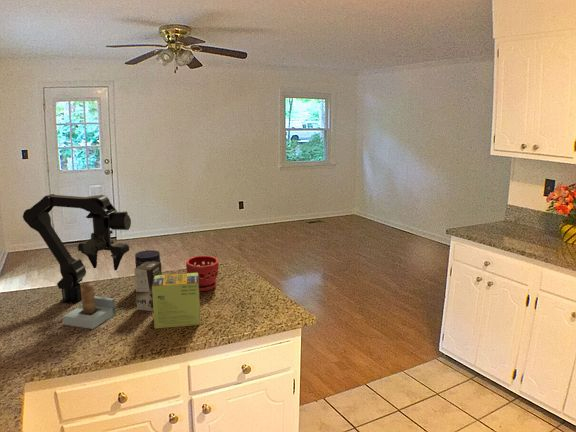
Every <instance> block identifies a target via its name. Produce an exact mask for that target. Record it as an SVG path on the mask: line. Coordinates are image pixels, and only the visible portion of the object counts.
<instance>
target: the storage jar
mask: <svg viewBox="0 0 576 432" xmlns="http://www.w3.org/2000/svg"><path fill="white" fill-rule="evenodd" d="M160 254H161V253H160V251H157V250H154V249H153V250H152V249H151V250H150V249H149V250H141V251H138V252H136V253H135V254H134V257H135V260H134V261H135V262H134V263H135V268H137V267H138V266H140V265H142V264H143V263H145V262H146V261H147V262H161V255H160Z"/></svg>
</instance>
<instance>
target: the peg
mask: <svg viewBox="0 0 576 432" xmlns="http://www.w3.org/2000/svg"><path fill="white" fill-rule="evenodd" d="M80 286H81V295H82V299H81V306H82V305H83V314H84V315H90V316H91V315H93V314H94V313H96V309H95V298H94V296H95V289H94V283H93V282H89V281H87V282H82V283H80Z"/></svg>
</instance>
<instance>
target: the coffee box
mask: <svg viewBox="0 0 576 432" xmlns="http://www.w3.org/2000/svg"><path fill="white" fill-rule="evenodd" d="M157 275H163V272H162V262H161V261H160V262H147V261H146V262H145V263H143V264H142V265H140V266H138V267H137V268H136V267H134V280H135V281H134V282H135V297H136V299H135V300H136V310H139V311H148V312H152V311H153V296H152V284H153V281H154V276H157Z"/></svg>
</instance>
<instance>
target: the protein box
mask: <svg viewBox="0 0 576 432" xmlns="http://www.w3.org/2000/svg"><path fill="white" fill-rule="evenodd" d="M152 296H153V326H154V327H153V328H154V329H163V328H166V329H167V328H178V327H188V326H189V327H191V326H199V325H201V305H200V291H199V280H198V273H187V272H186V273H171V274H162V275H157V276H154V281H153V284H152Z"/></svg>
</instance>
